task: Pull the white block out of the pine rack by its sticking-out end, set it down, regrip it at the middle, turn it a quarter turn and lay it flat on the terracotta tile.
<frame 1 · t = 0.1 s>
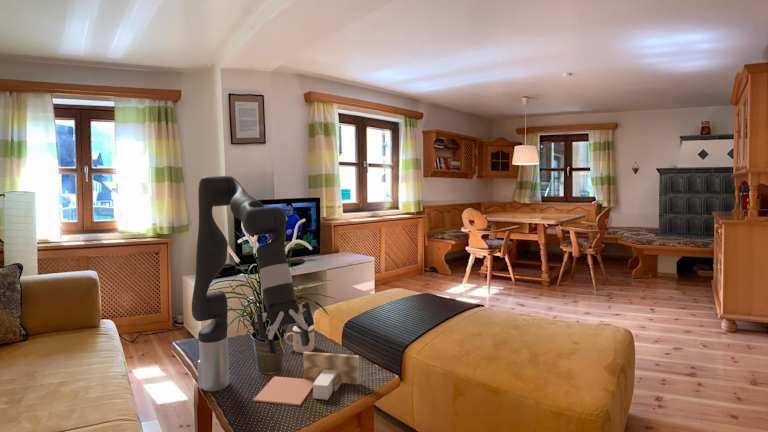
hand: (290, 350, 106), 31 cm above the table, tool tilted 20°, fingers open, 8 cm apart
teacup with lid: (300, 349, 183), on the table
white block: (325, 391, 149), on the table
pine rack: (328, 386, 152), on the table
terracotta tile: (286, 391, 149), on the table
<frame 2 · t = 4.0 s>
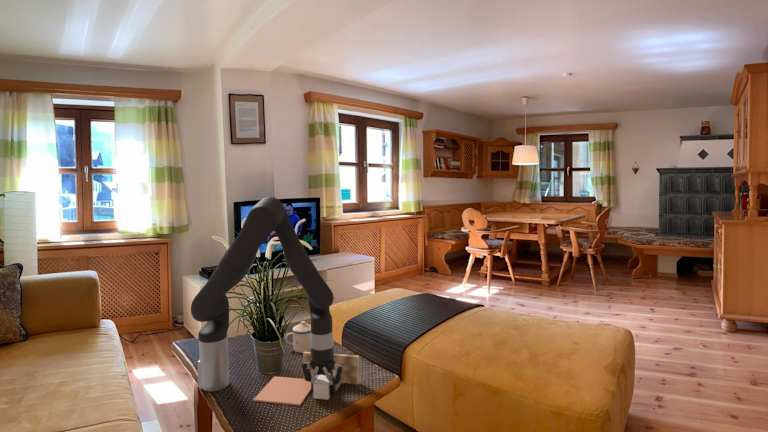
hand: (323, 393, 146), 1 cm above the table, tool pointing down, fingers closed on white block, 5 cm apart
white block: (325, 390, 149), on the table, touching gripper
everything else where it was.
when the fingers open (1 cm above the table, at t = 7.3 s): white block stays where it is, on the table.
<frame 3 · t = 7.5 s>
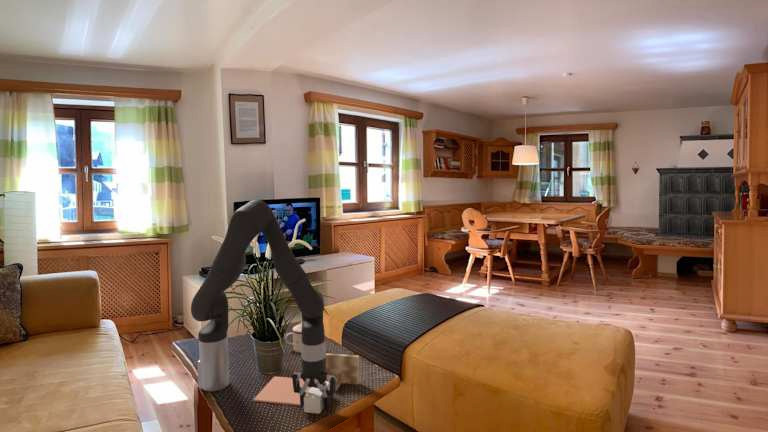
hand: (314, 405, 138), 1 cm above the table, tool pointing down, fingers open, 6 cm apart
white block: (317, 404, 141), on the table
everything else where it was.
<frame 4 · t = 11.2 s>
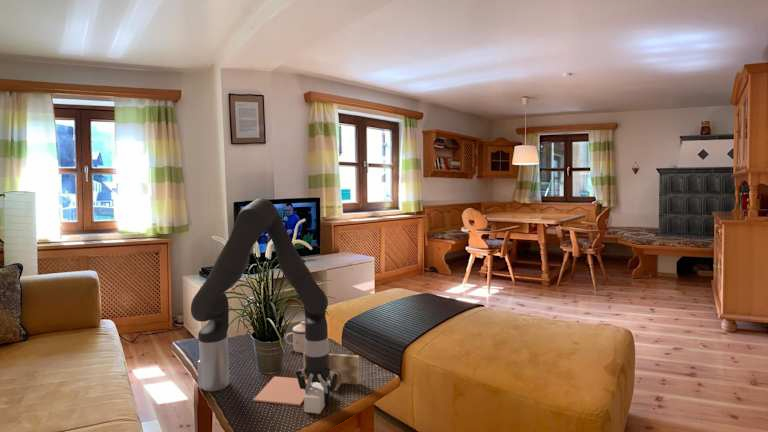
hand: (318, 401, 141), 1 cm above the table, tool pointing down, fingers closed on white block, 5 cm apart
white block: (317, 403, 141), on the table, touching gripper
everything else where it was.
when the fingers open (2 cm above the table, at t = 17.0 s): white block stays where it is, resting on terracotta tile.
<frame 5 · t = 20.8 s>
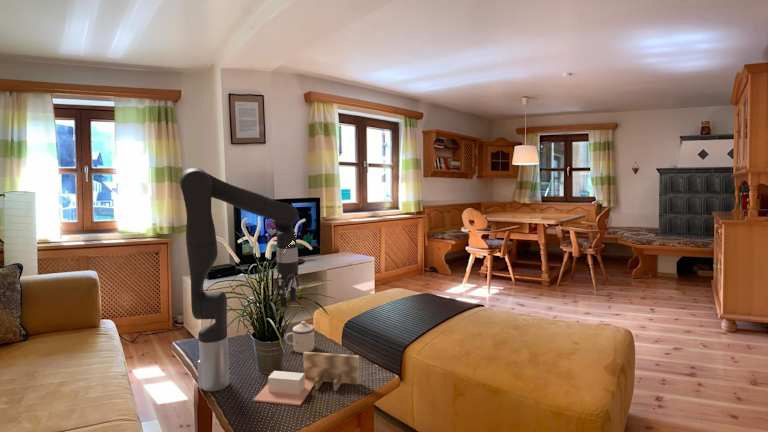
hand: (288, 303, 160), 26 cm above the table, tool pointing down, fingers open, 8 cm apart
white block: (286, 389, 149), point 1 cm above the table, touching terracotta tile
everything else where it was.
at the end: white block 0.2 cm off-centre on the terracotta tile, point 0.6 cm above the terracotta tile's base; white block tilted 0°; white block touching terracotta tile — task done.
